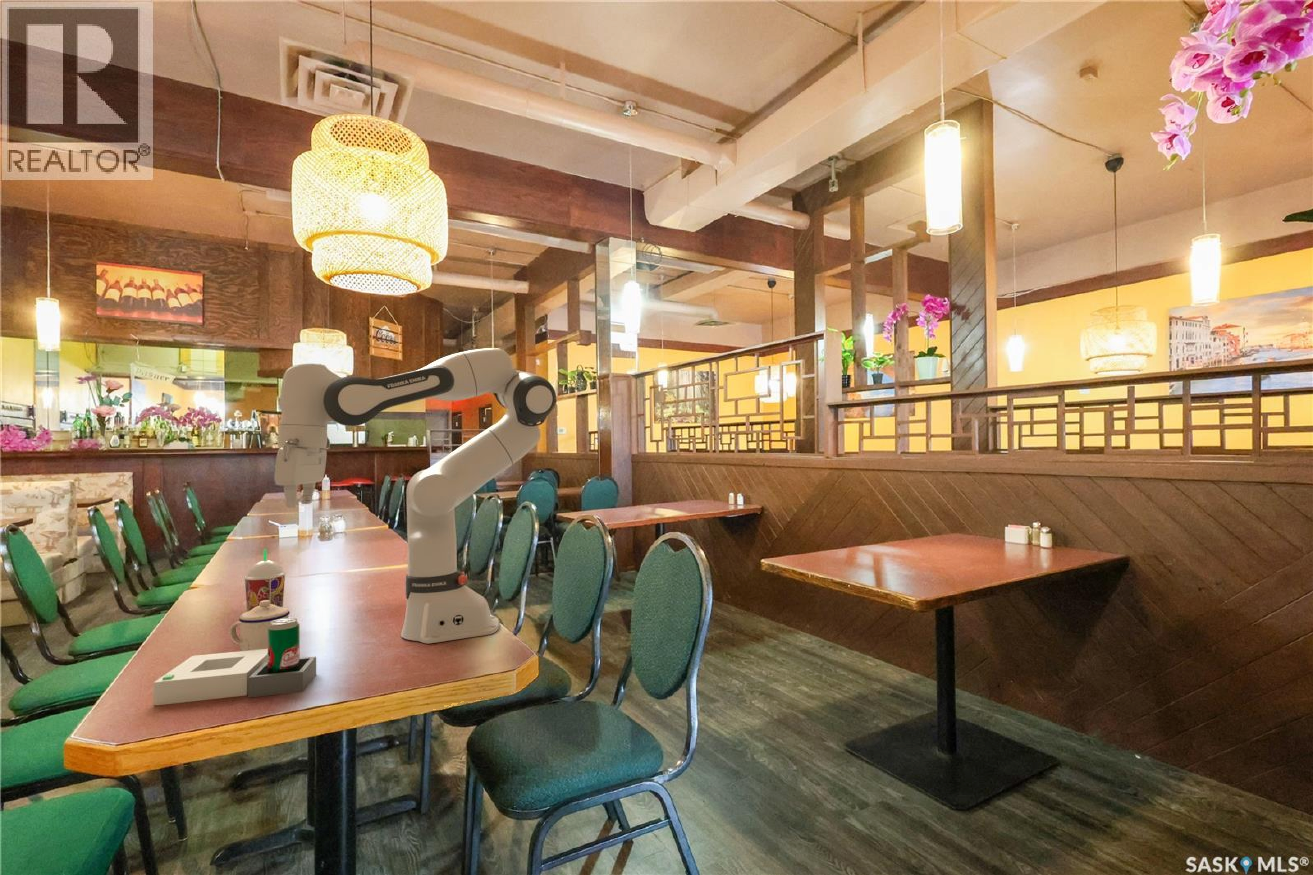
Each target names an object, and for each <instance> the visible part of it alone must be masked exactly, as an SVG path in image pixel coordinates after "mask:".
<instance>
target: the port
mask: <svg viewBox="0 0 1313 875" xmlns="http://www.w3.org/2000/svg"><path fill="white" fill-rule="evenodd" d="M266 661H268V649H260V650H249V651H241V650H238V651H230V652H221V653H220V652H218V653H210V654H209V653H207V654H197V655H191V656H190V657H189V658H187V659H186V660H184V661H183V662H181V663H180V664H179V665H177V666H176V667H174V668H172V669H171V670H169V671H168V672H167V673H165V674H164V675H163V676H161V677H159V678H158V679H157V680H155V681H154V682H153V706H154V707H155V705H156V706H163V705H171V704H172V705H173V704H182V703H190V702H198V701H199V702H200V701H207V700H216V699H217V700H218V699H224V698H225V699H226V698H234V697H244V696H249V684H248V678H249V677H250V676H251V675H252V674H253V673H254V672H255V671H256V670H257V669H258V668H259V667H261V666H262V665H263V664H264V663H265V662H266Z"/></svg>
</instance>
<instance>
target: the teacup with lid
mask: <svg viewBox="0 0 1313 875" xmlns="http://www.w3.org/2000/svg"><path fill="white" fill-rule="evenodd" d="M259 605H260V606H257V607H255V608H253V609H252V610H250V611H248V612H247V611H246V612H244V613H242V614H241V615H240V616H239V619H238V621H236V622H234V623H233V624H232V625H231V626H230V629H229V636H230V638H231V640H232V641H233V642H234V643H235V644H237V645H240V651H249V650H260V649H268V628H269V626H270V622H272V621H274V620H278V619H283V618H289V615H290V610H289V608H287V607H284V606H283V607H279V606H276V605H273V604H270V601H269V600H263V601H260V603H259ZM238 626H240V637H239V636H238V634H237V627H238Z"/></svg>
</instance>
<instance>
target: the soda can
mask: <svg viewBox="0 0 1313 875" xmlns="http://www.w3.org/2000/svg"><path fill="white" fill-rule="evenodd" d="M300 631H301V630H300V623H299V621H298V619H297V618H296V617H288V618H283V619H278V620H274V621H272V622H270V626H269V628H268V674H275V673H285V672H294V671H300V658H301V656H300V654H301V653H300V650H301V648H300V646H301V645H300V643H301V642H300V641H301V640H300V634H301V633H300Z"/></svg>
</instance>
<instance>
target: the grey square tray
mask: <svg viewBox="0 0 1313 875" xmlns="http://www.w3.org/2000/svg"><path fill="white" fill-rule="evenodd" d="M316 676H317V656H315V655H314V656H308V657H300V671H294V672H285V673H275V674H268V661H266V662H265V663H264V664H263V665H262V666H261V667H259V668H258V669H257V670H256V671H255V672H254V673H253V674H252V675H251V676H250V677H249V678H248V684H249V694H248V699H249V698H257V697H265V696H275V695H285V694H290V693H291V694H292V693H300V692H301V693H302V692H304V691H305V689H306V688H307V687H308V686H309V684H310V683H311V681H312V680H313V679H314V678H315V677H316Z"/></svg>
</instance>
